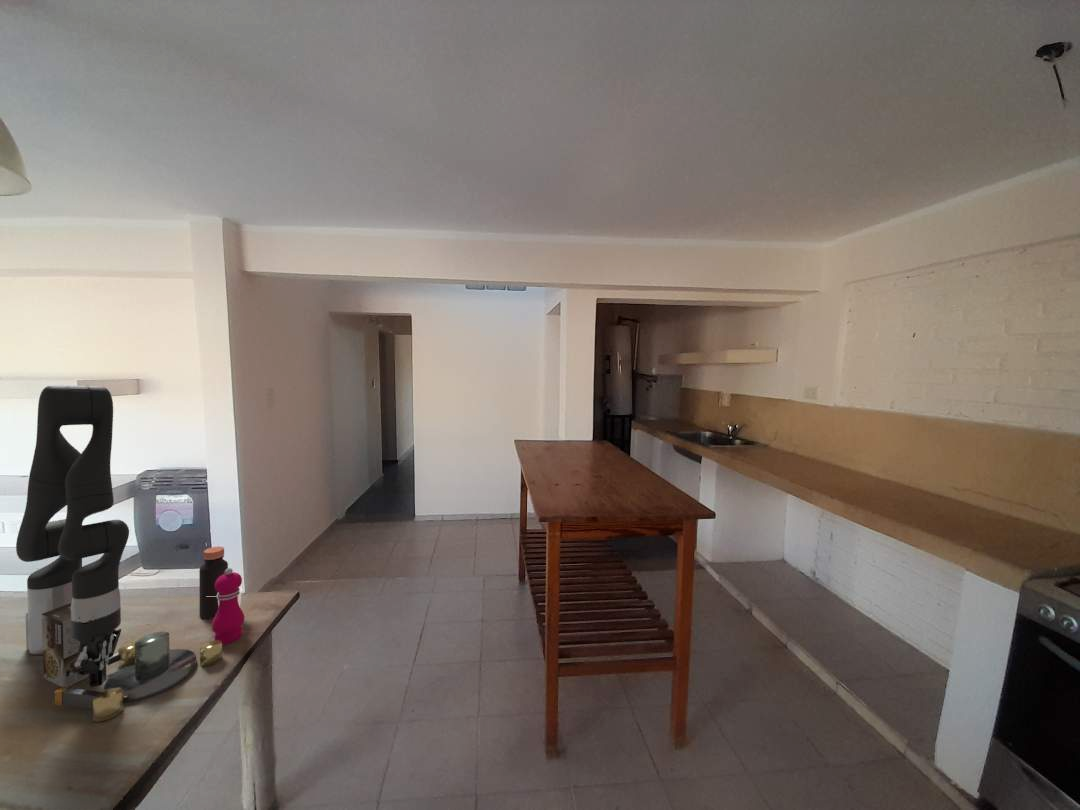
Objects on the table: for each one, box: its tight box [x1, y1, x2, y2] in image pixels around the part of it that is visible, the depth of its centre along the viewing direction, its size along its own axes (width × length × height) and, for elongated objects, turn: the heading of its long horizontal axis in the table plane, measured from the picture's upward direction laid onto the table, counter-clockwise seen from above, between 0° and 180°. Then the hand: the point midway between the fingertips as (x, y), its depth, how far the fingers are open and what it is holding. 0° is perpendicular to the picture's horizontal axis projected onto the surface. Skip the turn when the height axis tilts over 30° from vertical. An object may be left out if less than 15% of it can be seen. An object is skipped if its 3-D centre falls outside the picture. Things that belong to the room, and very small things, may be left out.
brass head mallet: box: [54, 686, 124, 723], centre depth 87 cm, size 14×4×4 cm, turn 85°
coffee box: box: [42, 603, 89, 688], centre depth 97 cm, size 9×6×16 cm
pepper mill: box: [211, 567, 245, 645], centre depth 112 cm, size 7×7×20 cm
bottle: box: [198, 546, 229, 619], centre depth 124 cm, size 7×7×20 cm
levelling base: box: [103, 631, 223, 704], centre depth 99 cm, size 23×19×10 cm
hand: (97, 684), depth 92 cm, fingers closed
